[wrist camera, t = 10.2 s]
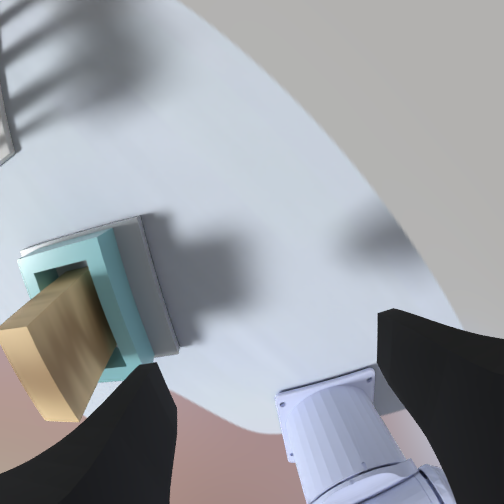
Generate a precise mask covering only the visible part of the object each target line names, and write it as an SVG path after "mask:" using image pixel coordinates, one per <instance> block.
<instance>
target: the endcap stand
mask: <svg viewBox="0 0 504 504" xmlns="http://www.w3.org/2000/svg"><path fill="white" fill-rule="evenodd" d="M20 252H21V256H22V257H21V258H20V259H18V260H17V262H18V265H19V268H20V271H21V274H22V277H23V280H24V283H25V286H26V289H27V291H28V294H29V297H30V299H32V298H33V297H35V296H36V295H37V294H38V293H40V292H41V291H42V290H43V289H44V288H46V287H47V286H48V285H50V284H51V283H52V282H53V281H55V280H56V279H57V278H58V277H60V276H61V275H62V274H64V273H65V272H66V271H70V270H74V269H78V268H83V267H87V266H88V267H89V271H90V274H91V277H92V280H93V283H94V286H95V289H96V291H97V294H98V297H99V300H100V303H101V305H102V308H103V311H104V313H105V316H106V318H107V321H108V324H109V326H110V329H111V331H112V333H113V336H114V338H115V341H116V343H117V345H116V347H115V349H114V351H113V353H112V355H111V357H110V359H109V361H108V363H107V365H106V367H105V369H104V371H103V373H102V375H101V377H100V379H99V381H98V383H99V382H112V381H123V380H125V379H126V378H127V377H128V375H129V374H130V373H131V372H132V371H133V370H134V369H135V368H136V367H137V366H139V365H140V364H148V363H153V359H154V358H156V357H162V356H169V355H176V354H179V349H180V347H179V344H178V341H177V338H176V335H175V332H174V330H173V327H172V324H171V321H170V318H169V314H168V311H167V308H166V305H165V302H164V299H163V296H162V292H161V289H160V286H159V282H158V279H157V276H156V272H155V269H154V265H153V262H152V258H151V255H150V251H149V247H148V243H147V240H146V236H145V232H144V228H143V224H142V220H141V216H136V217H133V218H129V219H125V220H121V221H117V222H113V223H110V224H106V225H102V226H99V227H95V228H91V229H88V230H84V231H81V232H77V233H74V234H70V235H67V236H64V237H60V238H57V239H54V240H50V241H47V242H44V243H41V244H37V245H34V246H31V247H28V248H25V249H23V250H21V251H20Z"/></svg>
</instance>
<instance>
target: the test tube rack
mask: <svg viewBox="0 0 504 504" xmlns="http://www.w3.org/2000/svg"><path fill="white" fill-rule="evenodd" d="M14 154H15V149H14V146H13V142H12V138H11V134H10V130H9V125H8V121H7V117H6V112H5V107H4V102H3V96H2V90H1V84H0V165H2V164H3V163H4V162H5V161H7V160H8V159H9V158H10V157H12V156H13V155H14Z"/></svg>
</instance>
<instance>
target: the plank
mask: <svg viewBox="0 0 504 504" xmlns="http://www.w3.org/2000/svg"><path fill="white" fill-rule="evenodd" d="M0 345H1V347H2V349H3V350H4V353H5V354H6V357H7V358H8V360H9V362H10V364H11V366H12V368H13V370H14V371H15V373H16V375H17V377H18V378H19V380H20V382H21V383H22V385H23V387H24V389H25V390H26V392H27V394H28V395H29V397H30V398H31V400H32V402H33V403H34V405H35V406H36V408H37V409H38V411H39V412H40V414H41V415H42V417H43V418H44V419H45V421H61V422H80V420H81V418H82V415H83V413H84V411H85V409H86V407H87V404H88V402H89V400H90V398H91V396H92V394H93V392H94V390H95V387H96V385H97V383H98V381H99V379H100V377H101V375H102V373H103V371H104V369H105V367H106V365H107V363H108V361H109V359H110V357H111V355H112V353H113V351H114V349H115V347H116V345H117V343H116V341H115V338H114V336H113V333H112V331H111V329H110V326H109V324H108V321H107V318H106V316H105V313H104V311H103V308H102V305H101V303H100V300H99V297H98V294H97V291H96V289H95V286H94V283H93V280H92V277H91V274H90V271H89V267H88V266H87V267H83V268H78V269H74V270H70V271H66V272H65V273H64V274H62V275H61V276H60V277H58V278H57V279H56V280H55V281H53V282H52V283H51V284H50V285H48V286H47V287H46V288H44V289H43V290H42V291H41V292H40V293H38V294H37V295H36V296H35V297H33V298H32V299H31V300H30V301H28V302H27V303H26V304H25V305H24V306H22V307H21V308H20V309H19V310H18V311H17V312H15V313H14V314H13V315H12V316H11V317H10V318H8V319H7V320H6V321H5V322H4V323H3V324H2V325H0Z"/></svg>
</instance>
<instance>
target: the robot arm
mask: <svg viewBox="0 0 504 504" xmlns="http://www.w3.org/2000/svg"><path fill="white" fill-rule="evenodd" d="M377 364H378V365H379V367H380V369H381V371H382V373H383V375H384V377H385V379H386V381H387V382H388V384H389V386H390V387H391V389H392V390H393V391H394V393H395V394H396V395H397V397H398V398H399V400H400V401H401V402H402V404H403V405H404V406H405V408H406V409H407V410H408V412H409V413H410V414H411V416H412V417H413V418H414V420H415V421H416V423H417V424H418V425H419V427H420V428H421V429H422V431H423V433H424V434H425V436H426V437H427V439H428V441H429V443H430V445H431V447H432V449H433V450H434V452H435V454H436V456H437V458H438V460H439V462H440V465H441V466H442V469H443V470H442V469H440V468H439V467H437V466H430V465H429V464H425V465H423V466H421V467H419V468H418V469H417V467H416V466H415V464H414V462H413V461H412V459H411V458H410V459H408V460H406V458H405V457H404V455H403V453H402V452H401V450H400V448H399V447H398V445H397V443H396V442H395V440H394V438H393V437H392V435H391V433H390V432H389V430H388V428H387V427H386V425H385V423H384V422H383V420H382V419H381V417H380V415H379V414H378V412H377V410H376V409H375V407H374V405H373V400H374V385H375V371H374V370H373V369H372V368H367V369H364V370H361V371H358V372H355V373H351V374H348V375H345V376H342V377H338V378H335V379H331V380H328V381H324V382H321V383H317V384H313V385H310V386H306V387H302V388H298V389H294V390H290V391H286V392H281V393H278V394H277V395H276V396H275V402H276V407H277V411H278V416H279V421H280V425H281V430H282V434H283V439H284V444H285V448H286V453H287V457H288V461H289V462H292V463H293V462H296V466H297V470H298V473H299V477H300V481H301V484H302V488H303V492H304V495H305V499H306V503H307V504H504V339H500V338H495V337H489V336H483V335H479V334H475V333H471V332H467V331H463V330H460V329H456V328H453V327H450V326H447V325H444V324H441V323H438V322H435V321H432V320H429V319H426V318H423V317H420V316H417V315H414V314H411V313H408V312H405V311H402V310H398V309H394V308H393V309H390V310H387V311H384V312H380V313H378V340H377ZM368 378H369V379H368ZM367 379H368V380H367ZM282 402H285V403H283V404H280V403H282ZM176 438H177V407H176V405H175V403H174V401H173V398H172V396H171V394H170V392H169V390H168V387H167V385H166V383H165V380H164V378H163V376H162V374H161V371H160V369H159V366H158V364H157V362H155V363H148V364H140V365H139V366H137V367H136V368H135V369H134V370H133V371H132V372H131V373H130V374H129V375H128V377H127V378H126V379H125V380H124V381H123V382H122V383H121V384H120V385H119V386H118V387H117V388H116V389H115V391H114V392H113V393H112V394H111V395H110V396H109V397H108V398H107V399H106V400H105V401H104V402H103V403H102V404H101V405H100V406H99V407H98V408H97V409H96V410H95V411H94V412H93V413H92V414H91V415H90V416H89V417H88V418H87V419H86V420H85V421H84V422H83V423H81V424H80V425H79V426H78V427H77V428H76V429H75V430H73V431H72V432H71V433H70V434H69V435H67V436H66V437H64V438H63V439H62V440H61V441H59V442H58V443H56V444H55V445H54V446H52V447H50V448H49V449H47V450H46V451H44V452H42V453H41V454H39V455H38V456H36V457H35V458H33V459H31V460H29V461H27V462H25V463H23V464H22V465H20V466H17V467H15V468H13V469H11V470H8V471H6V472H4V473H1V474H0V504H169V503H170V502H169V498H170V485H171V477H172V469H173V460H174V453H175V446H176Z"/></svg>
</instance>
